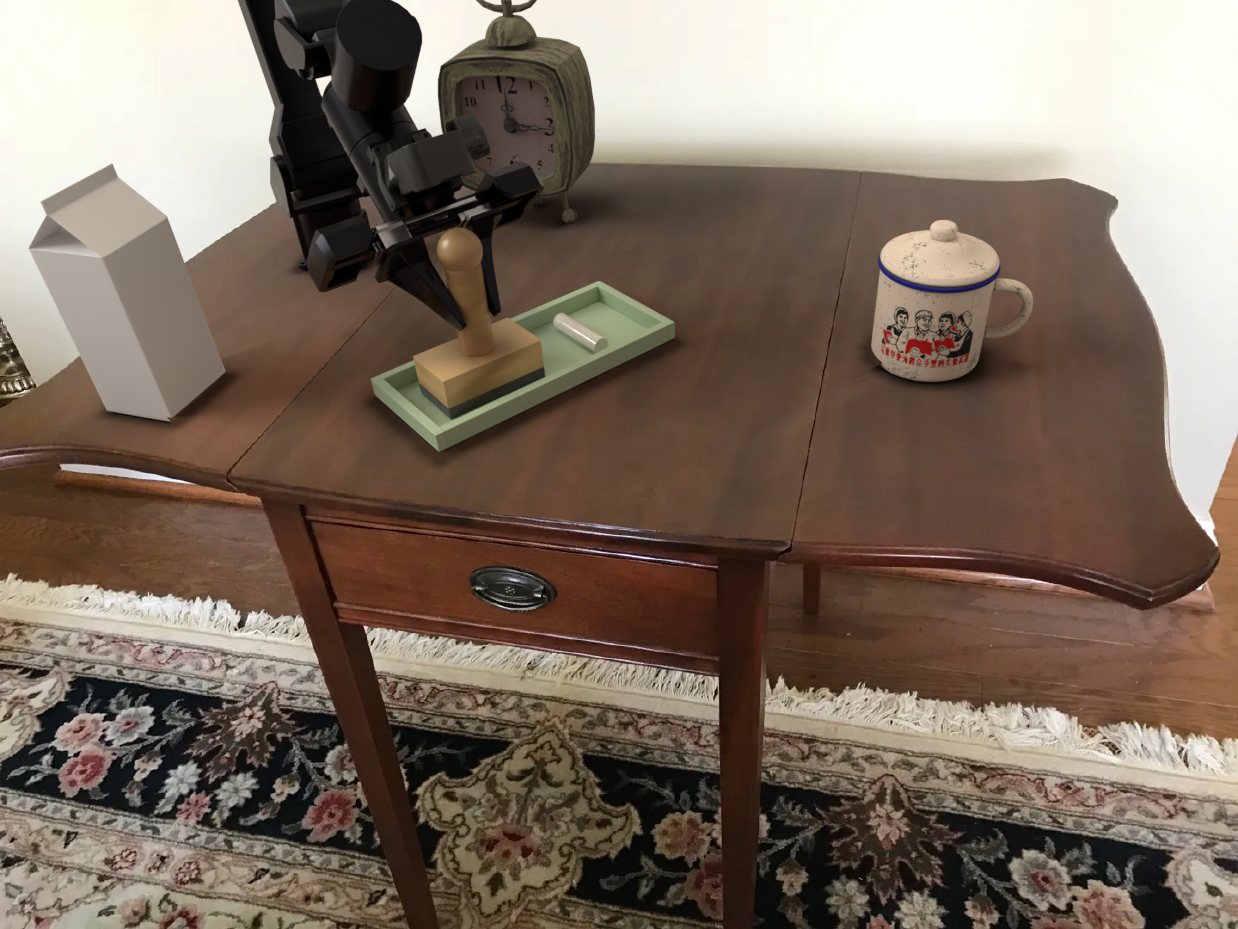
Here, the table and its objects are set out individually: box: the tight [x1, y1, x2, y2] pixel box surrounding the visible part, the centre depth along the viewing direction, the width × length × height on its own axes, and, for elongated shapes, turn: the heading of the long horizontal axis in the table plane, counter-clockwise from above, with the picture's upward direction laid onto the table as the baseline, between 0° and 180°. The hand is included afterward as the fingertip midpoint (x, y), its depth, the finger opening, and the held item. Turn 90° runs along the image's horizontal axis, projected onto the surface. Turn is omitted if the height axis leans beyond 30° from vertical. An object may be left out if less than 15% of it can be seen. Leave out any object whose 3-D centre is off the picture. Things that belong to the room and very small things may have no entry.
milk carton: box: [28, 163, 226, 423], centre depth 76 cm, size 7×7×19 cm
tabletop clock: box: [437, 0, 596, 225], centre depth 100 cm, size 14×9×25 cm, turn 73°
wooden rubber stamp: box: [412, 228, 545, 419], centre depth 75 cm, size 9×5×14 cm, turn 127°
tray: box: [370, 280, 676, 453], centre depth 81 cm, size 24×11×2 cm, turn 128°
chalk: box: [553, 313, 608, 353], centre depth 83 cm, size 6×2×2 cm, turn 38°
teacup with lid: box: [870, 219, 1034, 383], centre depth 76 cm, size 12×9×12 cm
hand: (480, 321), depth 74 cm, fingers closed on wooden rubber stamp, 3 cm apart
